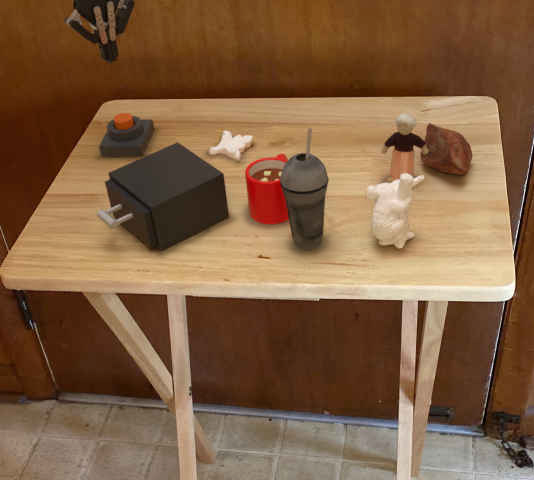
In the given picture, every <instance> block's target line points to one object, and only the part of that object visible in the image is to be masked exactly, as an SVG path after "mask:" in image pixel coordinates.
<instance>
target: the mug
mask: <svg viewBox="0 0 534 480" xmlns="http://www.w3.org/2000/svg"><path fill="white" fill-rule="evenodd" d="M288 160H289V158H288V157H287V156H286V154H284V153H279V154H277V155H276V156H273V157H272V156H269V157H263V158H259V159H256V160H254V161H252V162H251V163H249V164H248V165H247V167H246V168H245V170H244V176H245V185H246V186H245V187H246V193H247V203H248V210H249V216H250V217H251V219H253V221H255V222H257V223H259V224H264V225H277V224H281V223H285V222H287V221H289V216H288V210H287V205H286V199H285V196H284V193H283V190H282V186H281V184H280V179H281V173H282V170H283V167H284V165H285V163H286V162H287V161H288Z"/></svg>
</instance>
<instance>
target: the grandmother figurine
mask: <svg viewBox="0 0 534 480" xmlns="http://www.w3.org/2000/svg"><path fill="white" fill-rule="evenodd" d="M395 125H396V128H397V131H396V132H394V133H392V134H391V135H390V136H389V137H388V138H387V139H386V140H385V142H384V144H383V146H382V148H381V149H380V152H381V154H387V152H388V150H389V149H390V148H391V147H394V148H393V150H392V153H391V159H390V160H391V161H390V168H389V169H390V170H389V177H388V178H387V179H386V183H392V182H393V181H395V180H397V179H399V178H400V176H401V175H402V174H404V173H407V174H410V175H411V176H413V175H414V169H415V149H414V146H415V147H417V148H419V149H420V150H421V151H422V153H423V154H427V153H428V149H427V147H426V142H425V139H423V138H422V137H421V136H419V135H417V134H415V133H413V132H412V131H414V129H415V128H416V126H417V120H416V119H415V117H414V116H413V115H411V114H410V113H408V112H406V113H405V112H404V113H400V114H398V116H397V117H396V120H395ZM413 177H414V176H413ZM399 180H400V179H399Z"/></svg>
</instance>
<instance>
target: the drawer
mask: <svg viewBox="0 0 534 480" xmlns="http://www.w3.org/2000/svg"><path fill="white" fill-rule="evenodd" d="M104 185H105V190H106V193H107V196H108V200H109V204H110V208H107V209H106V210H104V209H98V211H97V213H96V216H97V217H98V219H100V220H101V221H102V222H103V223H104V224H106V226H108V227H109V228H110V229H111V230H116V229H117V228H118V227H119V225H120V224H122V225H123V226H124V227H125V228H126V229H128V230H129V231H130V232H131V233H133V235H135V237H137V238H138V239H139V240H140V241H142V242H143V243H144V244H145V245H146V246H147V247H149V249H153V248H156V246H158V245H157V240H156V236H155V231H154V226H153V221H152V217H151V212H150V209H149V208H147V207H146V206H145V205H144V204H142V203H141V202H140V201H139V200H137V199H136V198H135V197H134V196H133V195H131V194H130V193H129V192H128V191H126V190H125V189H124V188H123V187H122V188H121V187H120V186H119V185H118V184H117V183H115V182H114V181H113V180H112V179H110V178H109V179H107V180H106V181H104ZM111 214H112V216H113V217H112V216H111Z"/></svg>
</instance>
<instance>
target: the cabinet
mask: <svg viewBox="0 0 534 480" xmlns="http://www.w3.org/2000/svg"><path fill="white" fill-rule="evenodd" d="M107 174H108V178H109V180H110V179H112V180H113V181H114V182H115V183H117V184H118V185H119V186H120V187H121V188H122V187H123V188H124V189H125V190H126V191H128V192H129V193H130V194H131V195H133V196H134V197H135V198H136V199H137V200H139V201H140V202H141V203H142V204H144V205H145V206H146V207H147V208H149V209H150V212H151V217H152V221H153V226H154V231H155V236H156V240H157V245H158V246H156V247H155V248H156V249H157V250H158V251H159V252H163V251H165V250H167V249H169V248H171V247H173V246H175V245H177V244H180V243H181V242H183V241H185V240H187V239H189V238H191V237H192V236H195V235H197V234H199V233H200V232H202V231H205V230H207V229H210V228H211V227H213V226H215V225H216V224H219V223H221V222H223V221H225V220H227V219H229V218H230V214H229V213H230V212H229V205H228V197H227V190H226V182H225V176H224V175H225V174H224V172H222V171H221V170H220V169H218V168H216V167H215V166H213V165H212V164H210V163H209V162H208V161H206V160H205V159H203V158H202V157H200V156H199V155H197V154H195V153H194V152H193V151H191V150H189V148H187V147H186V146H184V145H182V144H181V143H180V142H175V143H172V144H171V145H168V146H166V147H163V148H162V149H159V150H157V151H154V152H152V153H150V154H147V155H145V156H142V157H140V158H138V159H136V160H134V161H132V162H129V163H127V164H125V165H123V166H120V167H118V168H116V169H114V170H112V171H109V172H108V173H107Z"/></svg>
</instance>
